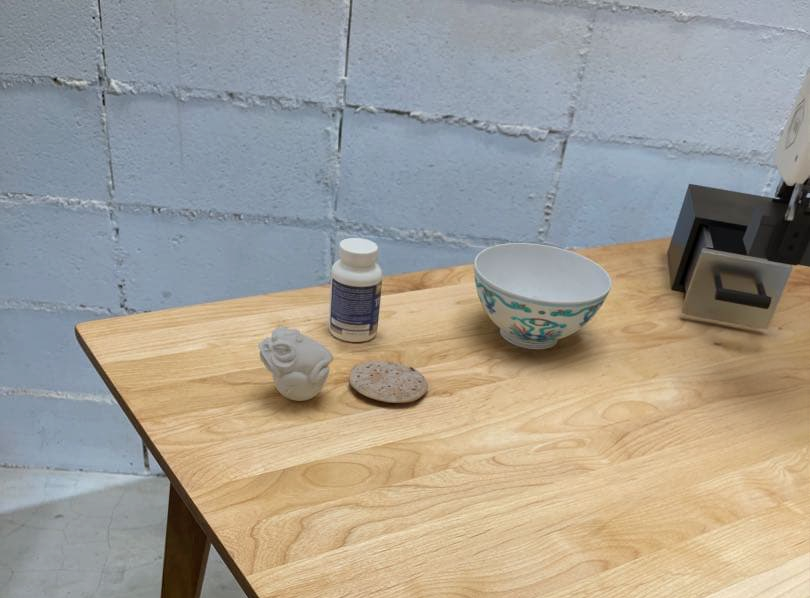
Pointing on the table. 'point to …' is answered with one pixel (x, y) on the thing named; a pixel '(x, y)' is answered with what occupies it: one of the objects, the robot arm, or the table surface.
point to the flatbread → (388, 382)
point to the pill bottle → (355, 291)
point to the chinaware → (538, 291)
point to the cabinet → (706, 222)
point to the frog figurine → (295, 363)
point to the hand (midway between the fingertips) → (778, 249)
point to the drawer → (731, 279)
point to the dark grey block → (766, 229)
